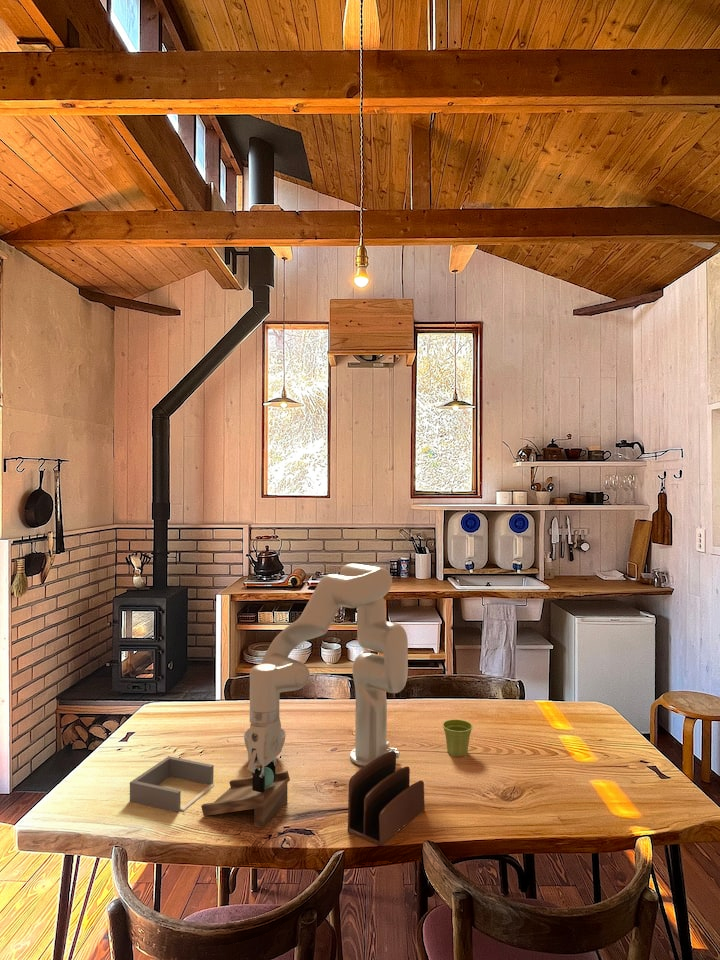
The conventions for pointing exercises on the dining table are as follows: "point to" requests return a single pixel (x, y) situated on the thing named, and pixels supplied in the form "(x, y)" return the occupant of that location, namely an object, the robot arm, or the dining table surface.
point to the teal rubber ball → (268, 776)
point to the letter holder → (382, 799)
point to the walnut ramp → (252, 799)
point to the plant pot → (457, 736)
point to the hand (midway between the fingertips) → (264, 785)
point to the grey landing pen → (167, 798)
